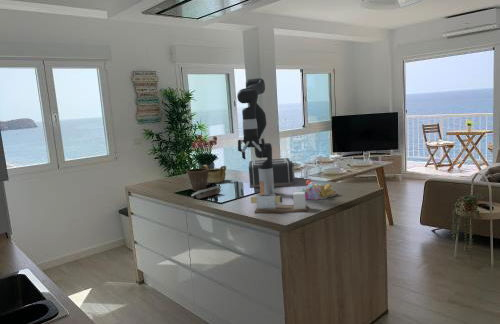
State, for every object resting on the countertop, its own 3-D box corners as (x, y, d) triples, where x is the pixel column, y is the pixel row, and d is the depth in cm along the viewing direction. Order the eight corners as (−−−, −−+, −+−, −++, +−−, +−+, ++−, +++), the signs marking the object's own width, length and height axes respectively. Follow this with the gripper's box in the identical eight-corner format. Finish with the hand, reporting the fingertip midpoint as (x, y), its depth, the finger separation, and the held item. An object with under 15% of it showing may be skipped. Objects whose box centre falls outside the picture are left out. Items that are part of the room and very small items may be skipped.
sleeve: (258, 207, 222) (257, 194, 221) (276, 207, 220) (275, 193, 219) (257, 209, 217) (256, 196, 216) (275, 209, 215) (274, 195, 214)
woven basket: (197, 185, 313) (196, 166, 311) (211, 181, 327) (210, 163, 325) (219, 186, 300) (218, 167, 298) (233, 182, 314) (231, 163, 312)
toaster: (300, 186, 280) (298, 161, 278) (249, 189, 281) (248, 165, 279) (296, 178, 310) (294, 156, 308) (250, 182, 311) (249, 160, 309)
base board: (258, 207, 226) (258, 206, 226) (307, 206, 220) (307, 204, 220) (254, 213, 214) (254, 211, 214) (307, 211, 209) (307, 210, 209)
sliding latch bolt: (252, 202, 221) (250, 181, 220) (282, 201, 218) (281, 180, 217) (251, 203, 218) (249, 182, 217) (281, 202, 215) (280, 181, 214)
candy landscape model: (342, 193, 249) (341, 178, 248) (326, 201, 230) (326, 186, 229) (305, 191, 263) (305, 177, 262) (288, 199, 244) (287, 184, 243)
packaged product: (222, 191, 265) (215, 195, 272) (220, 185, 265) (213, 189, 273) (200, 197, 253) (193, 201, 261) (197, 190, 254) (190, 194, 262)
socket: (294, 206, 219) (293, 192, 218) (305, 205, 218) (304, 191, 217) (294, 209, 213) (293, 194, 212) (305, 208, 212) (304, 194, 211)
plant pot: (209, 193, 278) (207, 170, 276) (187, 194, 278) (185, 172, 276) (211, 189, 293) (209, 167, 291) (190, 190, 293) (188, 169, 291)
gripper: (264, 126, 209) (266, 157, 211) (238, 128, 212) (240, 158, 214) (262, 127, 202) (264, 159, 204) (235, 129, 205) (237, 160, 207)
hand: (252, 158), depth 209 cm, fingers open, 8 cm apart
